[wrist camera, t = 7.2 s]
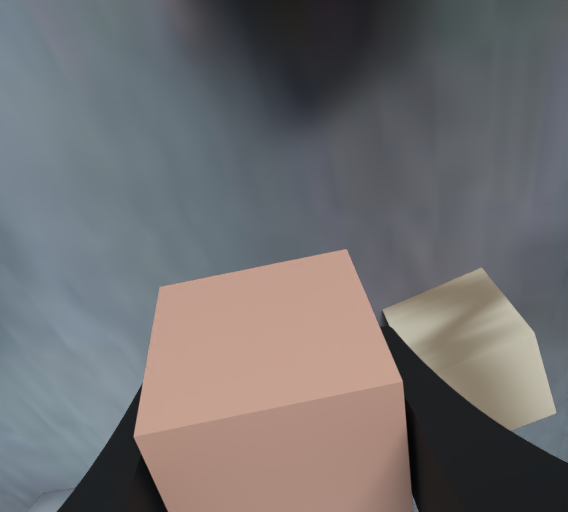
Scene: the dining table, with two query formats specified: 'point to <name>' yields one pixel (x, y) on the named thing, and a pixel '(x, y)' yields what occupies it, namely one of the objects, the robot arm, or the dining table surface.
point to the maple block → (477, 347)
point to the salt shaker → (51, 501)
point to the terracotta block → (274, 394)
